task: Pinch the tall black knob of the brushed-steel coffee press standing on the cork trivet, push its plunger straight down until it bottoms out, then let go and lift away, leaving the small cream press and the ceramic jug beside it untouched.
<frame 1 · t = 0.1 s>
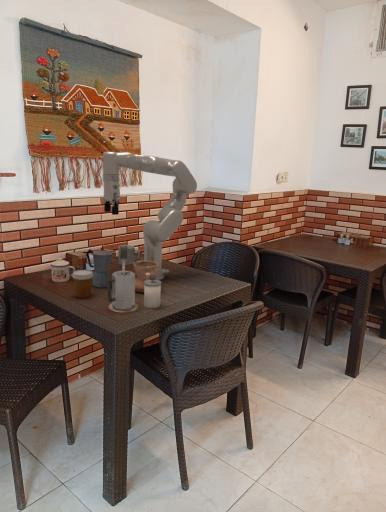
hand: (111, 213, 196), 37 cm above the table, tool pointing down, fingers open, 9 cm apart
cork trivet: (123, 308, 173), on the table
cream press: (152, 306, 177), on the table
plunger: (123, 266, 169), point 19 cm above the table, slide at 0.0 cm
coffee mug: (129, 262, 245), on the table
steel press: (123, 306, 173), resting on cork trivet
teacup with lid: (63, 280, 207), on the table
ceramic jug: (145, 290, 197), on the table
moka pot: (100, 285, 202), on the table
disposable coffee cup: (83, 297, 184), on the table
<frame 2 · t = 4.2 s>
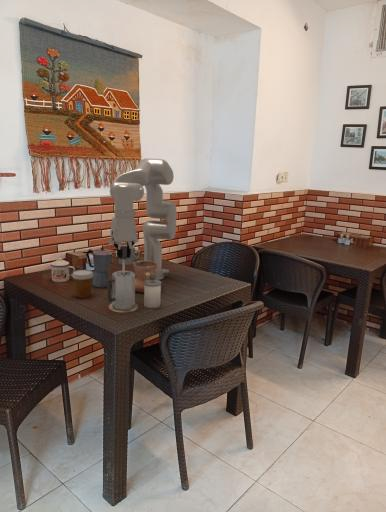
hand: (123, 257, 168), 23 cm above the table, tool pointing down, fingers closed on plunger, 3 cm apart
plunger: (123, 266, 169), point 19 cm above the table, slide at 0.0 cm, touching gripper
everything else where it was.
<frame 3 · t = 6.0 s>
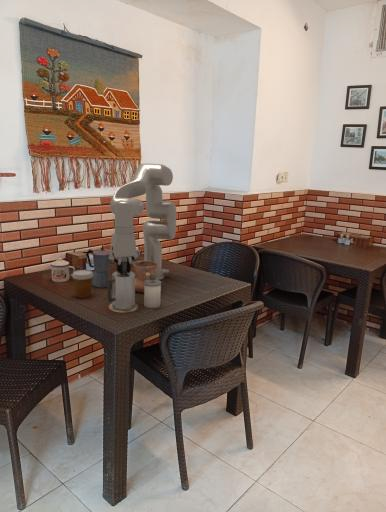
hand: (123, 272, 169), 17 cm above the table, tool pointing down, fingers closed on plunger, 3 cm apart
plunger: (123, 281, 170), point 12 cm above the table, slide at 6.6 cm, touching gripper
everything else where it was.
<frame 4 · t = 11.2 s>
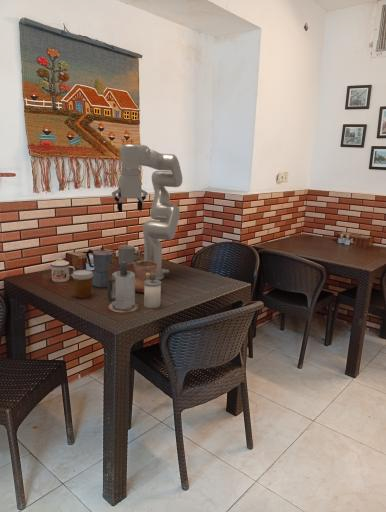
hand: (129, 210, 182), 40 cm above the table, tool pointing down, fingers open, 9 cm apart
plunger: (123, 281, 170), point 12 cm above the table, slide at 6.7 cm
everything else where it was.
at the end: plunger slide at 6.7 cm; the gripper is holding nothing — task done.
